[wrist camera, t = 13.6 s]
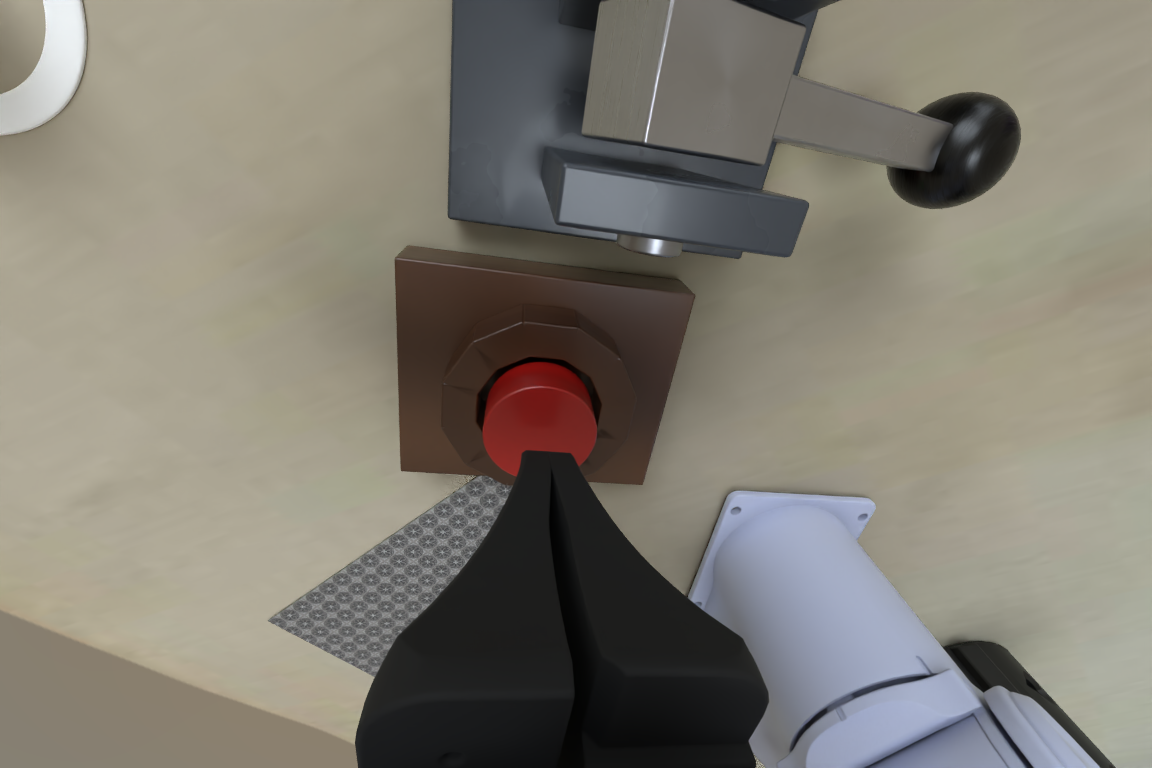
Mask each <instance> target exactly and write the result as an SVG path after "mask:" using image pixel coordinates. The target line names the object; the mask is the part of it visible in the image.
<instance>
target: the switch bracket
mask: <svg viewBox="0 0 1152 768" xmlns="http://www.w3.org/2000/svg"><path fill="white" fill-rule="evenodd" d="M601 1H602V0H453V2H452V46H451V90H450V134H449V178H448V218H450V219H453V220H460V221H468V222H475V223H482V224H489V225H496V226H504V227H511V228H518V229H525V230H533V231H540V232H547V233H554V234H561V235H569V236H576V237H583V238H590V239H597V240H605V241H612V242H617V244H618V245H619V246H621V247H622V248H624V249H627V250H630V251H633V252H636V253H640V254H645V255H650V256H657V257H676V256H679V255H680V254H681V251H684V252H691V253H698V254H706V255H713V256H720V257H727V258H734V259H739V258H741V256H742V252H749V253H756V254H763V255H770V256H777V257H784V258H785V257H790V256H791V254H792V252H793V249H794V247H795V244H796V241H797V238H798V235H799V233H800V230H801V227H802V224H803V222H804V219H805V216H806V213H807V211H808V208H809V203H808V202H807V201H805V200H802V199H798V198H794V197H790V196H786V195H782V194H778V193H774V192H770V191H766V190H762V188H763V185H764V182H765V179H766V175H767V172H768V169H769V166H770V163H771V159H772V156H773V153H774V150H775V147H776V143H777V142H773V141H772V143H771V146H770V149H769V153H768V156H767V159H766V162H765V164H764V165H763V166H760V167H759V166H753V165H747V164H741V163H735V162H729V161H722V160H716V159H710V158H704V157H698V156H692V155H686V154H680V153H674V152H669V151H663V150H657V149H652V148H646V147H640V146H634V145H629V144H623V143H617V142H612V141H606V140H600V139H594V138H589V137H584V136H583V135H582V125H583V118H584V111H585V104H586V96H587V89H588V82H589V75H590V68H591V60H592V53H593V46H594V39H595V31H596V24H597V17H598V10H599V4H600V2H601ZM742 1H745V2H748V3H750V4H753V5H755V6H758V7H761V8H763V9H766V10H768V11H771V12H774V13H776V14H779V15H781V16H784V17H787V18H789V19H792V20H794V21H797V22H800V23H802V24H804V25H805V26H806V32H805V35H804V39H803V42H802V45H801V49H800V52H799V55H798V58H797V62H796V65H795V68H794V71H793V75H796V76H798V73H799V70H800V67H801V63H802V60H803V57H804V54H805V51H806V47H807V44H808V41H809V38H810V35H811V31H812V28H813V25H814V22H815V19H816V15H817V12H818V9H820V8H823V7H825V6H828V5H830V4H833V3H835V2H837V1H840V0H742Z"/></svg>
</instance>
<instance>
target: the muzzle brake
mask: <svg viewBox="0 0 1152 768" xmlns="http://www.w3.org/2000/svg"><path fill="white" fill-rule="evenodd" d="M943 649H944V650H945V651H946V652H947V654H948V655H949V656H950V657H951V659H952V660H953V661H954V662H955V664H956V665H957V666H958V667H959V669H960V670H961V671H962V672H963V674H964V675H965V676H966V677H967V679H968V680H969V681H970V682H971V683H972V684H973V685H974V686H976V687H977V688H978V689H979V690H981V691H982V692H983V693H984V692H985V691H987V690H989V689H991V688H992V687H994V686H1002V687H1004V688H1006V689H1007V690H1008V691H1010V692H1015V693H1018V694H1021V695H1024V696H1028V697H1030V698H1032V699H1033V700H1034V701H1036V702H1037V703H1038V704H1039V705H1040V706H1041V707H1042V708H1043V709H1044V710H1045V711H1046V712H1047V713H1048V714H1049V715H1050V716H1051V717H1052V718H1053V719H1054V720H1055V721H1056V722H1057V723H1058V724H1059V725H1060V726H1061V727H1062V728H1063V729H1064V730H1065V731H1066V732H1067V733H1068V734H1069V735H1070V736H1071V737H1072V738H1073V739H1074V740H1075V741H1076V742H1077V743H1078V744H1079V745H1080V746H1081V747H1082V749H1083V750H1084V751H1085V752H1086V753H1087V754H1088V755H1089V756H1090V757H1091V758H1092V759H1093V760H1094V761H1095V762H1096V763H1097V764H1098V766H1099V767H1100V768H1116V767H1115V766H1114V765H1113V764H1112V763H1111V762H1110V761H1109V760H1108V759H1107V758H1106V757H1105V756H1104V754H1103V753H1102V752H1101V751H1100V750H1099V749H1098V748H1097V747H1096V746H1095V745H1094V744H1093V743H1092V741H1091V740H1090V739H1089V738H1088V737H1087V736H1086V735H1085V734H1084V733H1083V732H1082V731H1081V730H1080V728H1079V727H1078V726H1077V725H1076V724H1075V723H1074V722H1073V721H1072V720H1071V719H1070V718H1069V717H1068V715H1067V714H1066V713H1065V712H1064V711H1063V710H1062V709H1061V708H1060V707H1059V706H1058V705H1057V704H1056V702H1055V701H1054V700H1053V699H1052V698H1051V697H1050V696H1049V695H1048V694H1047V693H1046V692H1045V691H1044V689H1043V688H1042V687H1041V686H1040V685H1039V684H1038V683H1037V682H1036V681H1035V680H1034V679H1033V678H1032V676H1031V675H1030V674H1029V673H1028V672H1027V671H1026V670H1025V669H1024V668H1023V667H1022V666H1021V665H1020V663H1019V662H1018V661H1017V660H1016V659H1015V658H1014V657H1013V656H1012V655H1011V654H1010V653H1009V652H1008V650H1007V649H1005V648H1004V647H1002V646H1000V645H997V644H994V643H990V642H982V641H977V642H966V643H962V644H957V645H953V646H948V647H944V648H943Z"/></svg>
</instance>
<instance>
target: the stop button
mask: <svg viewBox="0 0 1152 768" xmlns="http://www.w3.org/2000/svg"><path fill="white" fill-rule="evenodd" d="M482 435H483V443H484V446H485V449H486V451H487V453H488V455H489V456H490V458H491V459H492V460H493V462H494V463H495V464H496V465H497V466H499V467H500V468H501V469H502V470H504V471H506V472H507V473H509V474H511V475H513V476H516V477H517V474H518V471H519V467H520V462H521V454H522V452H524V451H525V450H535V451H550V452H565V453H571V454H572V455H573V456H574V458H575V460H576V462H577V464H578V466H580V465H581V464H582V463H583V462H584V461H585V460H586V459H587V458H588V456H589V455H590V453H591V452H592V450H593V447H594V445H595V442H596V437H597V425H596V420H595V415H594V411H593V407H592V403H591V399H590V395H589V392H588V390H587V388H586V386H585V384H584V383H583V381H582V380H581V379H580V378H579V377H578V376H577V375H576V374H575V373H573V372H572V371H570V370H569V369H567V368H565V367H563V366H560V365H557V364H554V363H549V362H530V363H525V364H522V365H519V366H516V367H514V368H512V369H510V370H509V371H507V372H505V373H504V374H503V375H502V376H501V377H499V379H498V380H497V381H496V382H495V383H494V385H493V386H492V388H491V390H490V392H489V394H488V398H487V403H486V410H485V417H484V424H483V431H482Z"/></svg>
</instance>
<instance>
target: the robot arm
mask: <svg viewBox="0 0 1152 768" xmlns="http://www.w3.org/2000/svg"><path fill="white" fill-rule="evenodd" d="M734 507H736V508H735V509H733V508H734ZM875 508H876V505H875V504H874V502H873V501H872V500H871V499H869V498H861V497H843V496H825V495H808V494H790V493H773V492H755V491H734V492H731V493H730V494H729V495H728V496H727V498H726V501H725V503H724V506H723V508H722V511H721V513H720V516H719V519H718V521H717V524H716V526H715V529H714V531H713V534H712V537H711V539H710V542H709V544H708V547H707V549H706V552H705V554H704V557H703V560H702V562H701V565H700V567H699V570H698V572H697V575H696V577H695V580H694V583H693V585H692V588H691V590H690V593H689V595H688V598H687V597H686V596H685V595H683V594H682V593H681V592H680V591H679V590H677V589H676V588H675V587H674V586H673V585H672V584H671V583H670V582H668V581H667V580H666V579H665V578H664V577H663V576H662V575H661V574H660V573H659V572H658V571H657V570H656V569H654V568H653V567H652V566H651V565H650V564H649V563H648V562H647V561H646V560H645V559H644V557H643V556H642V555H641V554H640V553H639V552H638V551H637V550H636V549H635V548H634V546H633V545H632V544H631V543H630V542H629V541H628V539H627V538H626V537H625V536H624V534H623V533H622V532H621V531H620V529H619V528H618V527H617V525H616V524H615V523H614V521H613V520H612V519H611V517H610V516H609V515H608V513H607V512H606V510H605V509H604V507H603V506H602V504H601V503H600V501H599V500H598V498H597V497H596V495H595V494H594V492H593V491H592V489H591V487H590V486H589V484H588V482H587V481H586V479H585V477H584V475H583V474H582V472H581V470H580V468H579V466H578V464H577V462H576V460H575V458H574V456H573V455H572V454H571V453H565V452H550V451H535V450H525V451H524V452H522V454H521V462H520V467H519V471H518V474H517V477H516V479H515V482H514V484H513V487H512V489H511V491H510V493H509V496H508V498H507V500H506V502H505V504H504V506H503V508H502V509H501V511H500V513H499V515H498V517H497V519H496V520H495V522H494V524H493V526H492V527H491V529H490V530H489V532H488V534H487V535H486V537H485V538H484V540H483V541H482V543H481V544H480V546H479V547H478V548H477V550H476V551H475V552H474V554H473V555H472V556H471V558H470V559H469V560H468V562H467V563H466V564H465V566H464V567H463V568H462V569H461V571H460V572H459V573H458V574H457V576H456V577H455V578H454V579H453V580H452V581H451V582H450V583H449V585H448V586H447V587H446V588H445V589H444V590H443V591H442V592H441V593H440V595H439V596H438V597H437V598H436V599H435V600H434V601H433V602H432V603H431V604H430V605H429V606H428V607H427V608H426V609H425V610H424V611H423V612H422V613H421V614H420V615H419V616H418V617H417V618H416V619H415V620H414V621H413V622H411V623H410V624H409V625H408V626H407V627H406V628H405V629H404V630H403V631H402V632H401V633H400V634H399V635H398V636H397V638H396V639H395V641H394V643H393V644H392V646H391V648H390V650H389V651H388V653H387V655H386V657H385V659H384V660H383V662H382V664H381V666H380V668H379V670H378V672H377V674H376V676H375V678H374V680H373V683H372V685H371V688H370V690H369V692H368V695H367V698H366V700H365V703H364V707H363V710H362V714H361V718H360V721H359V725H358V728H357V733H356V740H355V746H356V753H357V761H358V768H755V767H756V760H755V757H754V755H755V756H756V757H757V758H758V760H759V761H760V762H761V763H762V764H763V765H764V766H765V767H766V768H1100V767H1099V766H1098V764H1097V763H1096V762H1095V761H1094V760H1093V759H1092V758H1091V757H1090V756H1089V755H1088V754H1087V753H1086V752H1085V751H1084V750H1083V749H1082V747H1081V746H1080V745H1079V744H1078V743H1077V742H1076V741H1075V740H1074V739H1073V738H1072V737H1071V736H1070V735H1069V734H1068V733H1067V732H1066V731H1065V730H1064V729H1063V728H1062V727H1061V726H1060V725H1059V724H1058V723H1057V722H1056V721H1055V720H1054V719H1053V718H1052V717H1051V716H1050V715H1049V714H1048V713H1047V712H1046V711H1045V710H1044V709H1043V708H1042V707H1041V706H1040V705H1039V704H1038V703H1037V702H1036V701H1034V700H1033V699H1032V698H1030V697H1028V696H1024V695H1021V694H1018V693H1015V692H1010V691H1008V690H1007V689H1006V688H1004V687H1002V686H994V687H992V688H991V689H989V690H987V691H985V692H984V693H983V692H982V691H981V690H979V689H978V688H977V687H976V686H974V685H973V684H972V683H971V682H970V681H969V680H968V679H967V677H966V676H965V675H964V674H963V672H962V671H961V670H960V669H959V667H958V666H957V665H956V664H955V662H954V661H953V660H952V659H951V657H950V656H949V655H948V654H947V652H946V651H945V650H944V649H943V647H942V646H941V645H940V644H939V643H938V641H937V640H936V639H935V638H934V636H933V635H932V634H931V633H930V631H929V630H928V629H927V628H926V626H925V625H924V624H923V623H922V621H921V620H920V619H919V618H918V616H917V615H916V614H915V613H914V611H913V610H912V609H911V608H910V607H909V605H908V604H907V603H906V602H905V600H904V599H903V598H902V597H901V595H900V594H899V593H898V592H897V590H896V589H895V588H894V587H893V585H892V584H891V583H890V582H889V580H888V579H887V578H886V577H885V575H884V574H883V573H882V572H881V570H880V569H879V568H878V567H877V566H876V564H875V563H874V562H873V561H872V559H871V558H870V557H869V556H868V554H867V553H866V552H865V551H864V549H863V548H862V547H861V546H860V544H859V543H858V542H857V539H858V538H859V536H860V534H861V533H862V531H863V529H864V528H865V526H866V524H867V523H868V521H869V519H870V517H871V516H872V514H873V512H874V511H875ZM753 753H754V755H753Z"/></svg>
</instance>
